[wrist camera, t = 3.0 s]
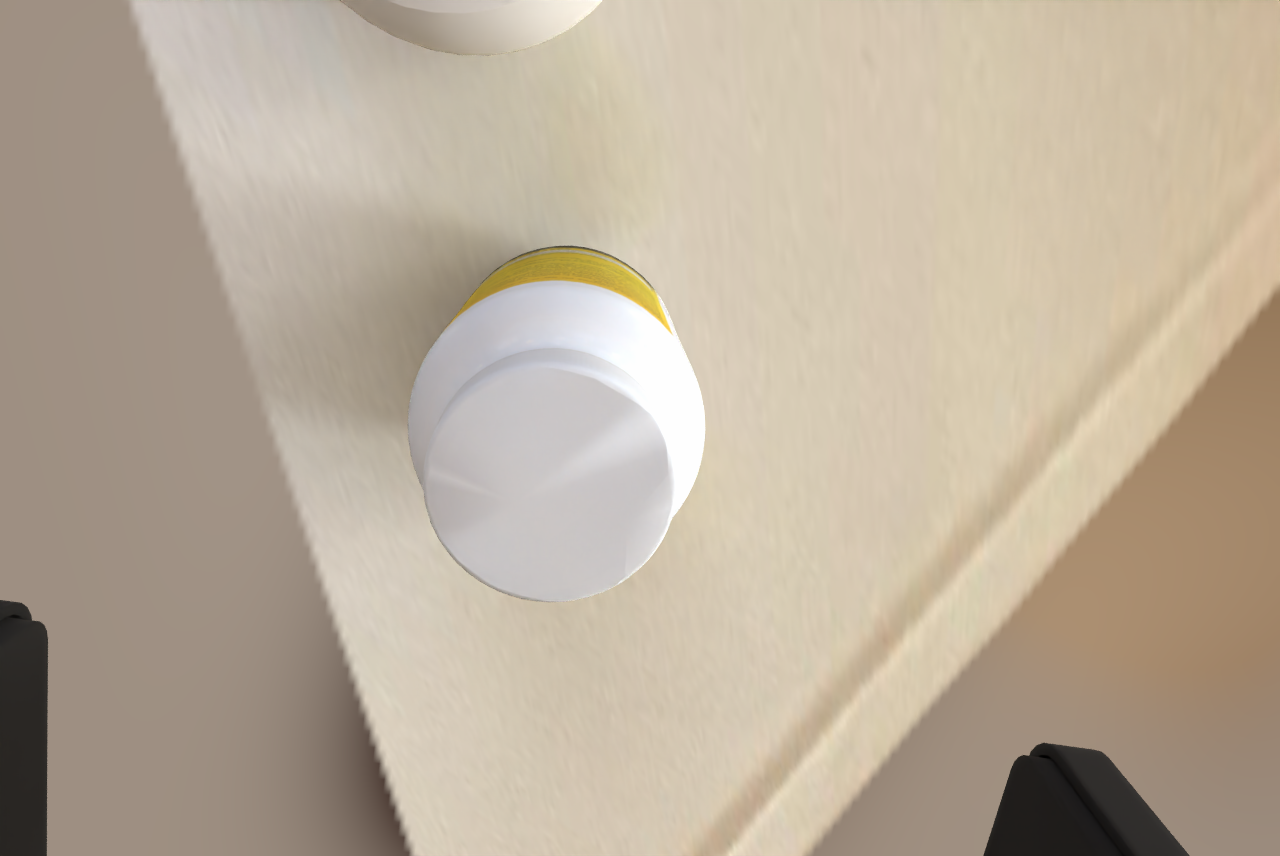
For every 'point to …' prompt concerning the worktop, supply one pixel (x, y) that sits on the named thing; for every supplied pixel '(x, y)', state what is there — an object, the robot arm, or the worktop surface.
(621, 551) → the pill bottle
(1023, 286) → the worktop surface
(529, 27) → the mug
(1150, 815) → the robot arm
